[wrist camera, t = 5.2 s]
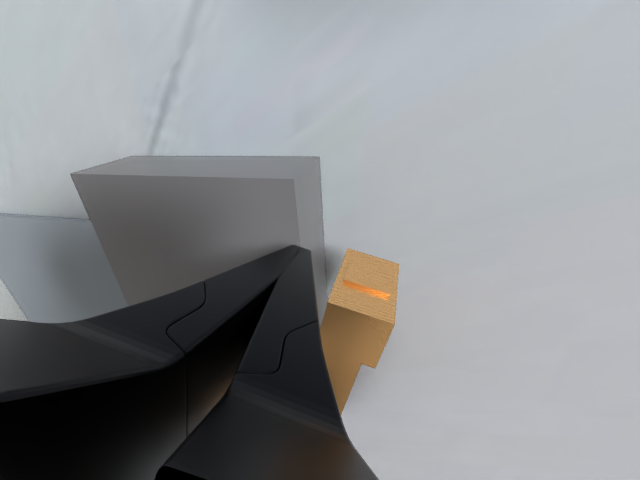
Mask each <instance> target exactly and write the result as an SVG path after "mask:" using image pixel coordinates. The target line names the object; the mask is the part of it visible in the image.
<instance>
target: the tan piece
mask: <svg viewBox="0 0 640 480" xmlns="http://www.w3.org/2000/svg"><path fill="white" fill-rule="evenodd" d="M398 271H399V264H397V263H394V262H391V261H387V260H384V259H381V258H378V257H374V256H371V255H368V254H365V253H361V252H358V251H355V250H352V249H347V251H346V254H345V257H344V259H343V262H342V265H341V267H340V270H339V273H338V275H337V278H336V281H335V283H334V286H333V289H332V291H331V294H330V297H329V299H328V302H327V306H326V309H325V313H324V317H323V321H322V324H321V328H320V334H321V340H322V347H323V352H324V356H325V360H326V364H327V368H328V372H329V376H330V379H331V383H332V386H333V390H334V394H335V397H336V401H337V404H338V408H339V412H340V415H341V413H342V411H343V408H344V406H345V404H346V401H347V399H348V396H349V394H350V391H351V389H352V386H353V384H354V381H355V379H356V376H357V374H358V371H359V369H360V367H361V364H364V365H366V366H369V367H372V368H375V367H376V365H377V363H378V361H379V358H380V356H381V354H382V352H383V350H384V347H385V345H386V343H387V341H388V338H389V336H390V334H391V332H392V329H393V327H394V325H395V313H396V299H397V285H398Z"/></svg>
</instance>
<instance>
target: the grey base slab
mask: <svg viewBox="0 0 640 480" xmlns="http://www.w3.org/2000/svg"><path fill="white" fill-rule="evenodd" d="M70 175H71V177H72V180H73V182H74V184H75V187H76V189H77V191H78V193H79V196H80V198H81V200H82V202H83V205H84V207H85V209H86V212H87V214H88V216H89V218H90V221H91V223H92V225H93V227H94V230H95V232H96V234H97V237H98V239H99V241H100V243H101V246H102V248H103V250H104V252H105V255H106V257H107V259H108V261H109V264H110V266H111V268H112V271H113V273H114V275H115V277H116V280H117V282H118V284H119V286H120V289H121V291H122V293H123V296H124V298H125V300H126V302H127V305H128V306H130V305H133V304H137V303H140V302H143V301H146V300H150V299H153V298H156V297H159V296H162V295H165V294H168V293H171V292H174V291H177V290H179V289H182V288H185V287H187V286H190V285H192V284H195V283H197V282H200V281H205V279H208V278H210V277H213V276H215V275H218V274H220V273H223V272H225V271H228V270H230V269H233V268H235V267H238V266H240V265H243V264H245V263H248V262H250V261H252V260H255V259H257V258H260V257H262V256H265V255H267V254H270V253H272V252H275V251H277V250H280V249H282V248H285V247H287V246H290V245H297V246H300V247H303V248H306V249H309V250H311V252H312V261H313V270H314V279H315V289H316V298H317V307H318V316H319V324H320V328H321V324H322V321H323V317H324V313H325V309H326V306H327V286H326V268H325V250H324V231H323V213H322V195H321V176H320V158H319V157H282V156H130V157H126V158H123V159H119V160H116V161H113V162H109V163H106V164H102V165H99V166H95V167H92V168H88V169H85V170H81V171H78V172H74V173H71V174H70Z"/></svg>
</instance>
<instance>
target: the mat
mask: <svg viewBox="0 0 640 480" xmlns="http://www.w3.org/2000/svg"><path fill="white" fill-rule="evenodd" d="M0 278H1V280H2V281H3V283H4V284H5V286H6V287H7V289H8V290H9V292H10V293H11V295H12V296H13V298H14V300H15V301H16V303H17V304H18V306H19V307H20V309H21V310H22V312H23V313H24V315H25V316H26V318H27V319H28V321H29V322H39V323H64V322H73V321H78V320H83V319H87V318H90V317H94V316H97V315H101V314H104V313H107V312H110V311H114V310H117V309H120V308H123V307H127V306H128V305H127V302H126V300H125V298H124V296H123V293H122V291H121V289H120V286H119V284H118V282H117V280H116V277H115V275H114V273H113V271H112V268H111V266H110V264H109V261H108V259H107V257H106V255H105V252H104V250H103V248H102V246H101V243H100V241H99V239H98V237H97V234H96V232H95V230H94V227H93V225H92V223H91V221H90V220H84V219H70V218H56V217H43V216H29V215H15V214H1V213H0Z"/></svg>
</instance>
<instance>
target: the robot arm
mask: <svg viewBox="0 0 640 480" xmlns="http://www.w3.org/2000/svg"><path fill="white" fill-rule="evenodd" d="M0 480H379V479H378V478H377V477H376V475H375V474H374V473H373V471H372V470H371V469H370V467H369V466H368V465H367V463H366V462H365V461H364V459H363V458H362V457H361V455H360V454H359V453H358V452H357V450H356V449H355V447H354V446H353V444H352V443H351V441H350V439H349V437H348V435H347V433H346V430H345V427H344V425H343V422H342V418H341V415H340V412H339V408H338V404H337V401H336V397H335V394H334V390H333V386H332V383H331V379H330V376H329V372H328V368H327V364H326V360H325V356H324V352H323V347H322V340H321V334H320V324H319V316H318V307H317V298H316V289H315V279H314V270H313V261H312V252H311V250H309V249H306V248H303V247H300V246H297V245H290V246H287V247H285V248H282V249H280V250H277V251H275V252H272V253H270V254H267V255H265V256H262V257H260V258H257V259H255V260H252V261H250V262H248V263H245V264H243V265H240V266H238V267H235V268H233V269H230V270H228V271H225V272H223V273H220V274H218V275H215V276H213V277H210V278H208V279H205V281H200V282H197V283H195V284H192V285H190V286H187V287H185V288H182V289H179V290H177V291H174V292H171V293H168V294H165V295H162V296H159V297H156V298H153V299H150V300H146V301H143V302H140V303H137V304H133V305H130V306H127V307H123V308H120V309H117V310H114V311H110V312H107V313H104V314H101V315H97V316H94V317H90V318H87V319H83V320H78V321H73V322H64V323H39V322H28V321H17V320H6V319H0Z"/></svg>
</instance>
